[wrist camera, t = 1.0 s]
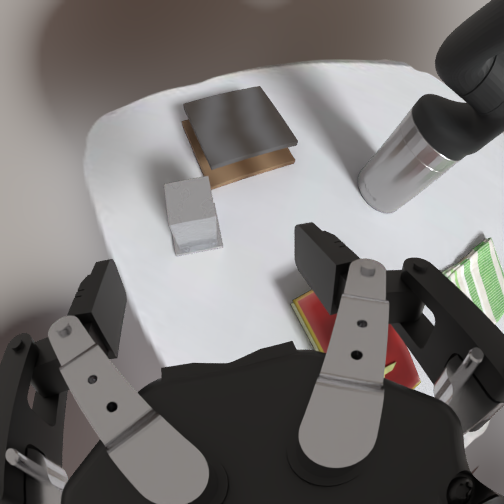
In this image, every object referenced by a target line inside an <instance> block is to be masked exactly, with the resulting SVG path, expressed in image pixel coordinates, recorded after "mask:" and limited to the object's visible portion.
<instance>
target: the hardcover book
mask: <svg viewBox="0 0 504 504" xmlns="http://www.w3.org/2000/svg"><path fill="white" fill-rule="evenodd" d="M292 301H293V303H291V306H292V308H293V310H294V312H295V313H296V315H297V317H298V319H299V321H300V323H301V325H302V327H303V329H304V330H305V332H306V334H307V336H308V338H309V340H310V342H311V344H312V346H313V347H314V349H315V351H319V352H324V353H327V349H328V346H329V342H330V339H331V335H332V332H333V328H334V324H335V321H336V317H337V314H334V315H329V313H328V312H327V310H326V309H325V307H324V306H323V304H322V303H321V301H320V300H319V299H318V297H317V296H316V294H315V293H314V291H313V290H310V291H308V292H307V293H305V294H303V295H301V296H299V297H298V298H296V299H294V300H292ZM384 378H386V379H388V380H391V381H393V382H396V383H398V384H401V385H403V386H406V387H408V388H411V389H414V388H415V387H416V386H418V385H419V384H420V383H421V381H420V378H419V375H418V373H417V370H416V368H415V365H414V363H413V360H412V358H411V355H410V353H409V351H408V348H407V346H406V344H405V343H404V342H403V340H402V339H401V337H400V336H399V335H398V333H397V332H396V331H395V329H394V328H393V327H392V325H391V324H388V338H387V351H386V361H385V371H384Z"/></svg>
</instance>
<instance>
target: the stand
mask: <svg viewBox="0 0 504 504" xmlns="http://www.w3.org/2000/svg"><path fill="white" fill-rule="evenodd" d="M183 105H184V110H185V112H186V114H187V117H188V120H185V121H182V125H183V128H184V130H185V133H186V135H187V137H188V140H189V142H190V144H191V147H192V149H193V152H194V154H195V156H196V159H197V161H198V163H199V166H200V168H201V170H202V173H203V175H204V176H208V177H209V182H210V188H211V190H212V189H215V188H218V187H221V186H224V185H227V184H230V183H233V182H236V181H239V180H242V179H245V178H248V177H251V176H254V175H257V174H261V173H264V172H267V171H270V170H274V169H277V168H280V167H284V166H287V165H290V164H294V162H295V159H294V157H293V156H292V154H291V152H290V151H289V149H288V147H292V146H296V145H297V143H298V140H297V139H296V137H295V136H294V134H293V133H292V131H291V130H290V128H289V127H288V125H287V124H286V122H285V121H284V119H283V118H282V116H281V115H280V113H279V112H278V111H277V109H276V108H275V106H274V105H273V103H272V102H271V101H270V99H269V98H268V96H267V95H266V94H265V92H264V91H263V90H262V88H261V87H260V86H257V87H252V88H247V89H242V90H237V91H232V92H228V93H223V94H219V95H215V96H211V97H207V98H203V99H199V100H196V101H192V102H189V103H185V104H183Z"/></svg>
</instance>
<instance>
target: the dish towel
mask: <svg viewBox="0 0 504 504" xmlns="http://www.w3.org/2000/svg"><path fill="white" fill-rule="evenodd" d="M442 273H443V274H444V275H445V276H446V277H447V278H448V279H449V280H450V281H451V282H453V283H454V284H455V285H456V286H457V287H458V288H459V289H460V290H461V291H462V292H463V293H464V294H465V295H466V296H467V297H468V298H469V299H470V300H471V301H472V302H473V303H474V304H476V305H477V306H478V308H479V309H480V310H481V311H482V312H483V313H484V314H485V315H486V316H487V317H488V318H489V319H490V320H491V321H492V322H493V323H494V324H496V323H497V322H498V321H499V319H500V318H501V316H502V315H503V314H504V272H503V269H502V266H501V263H500V260H499V258H498V255H497V252H496V249H495V246H494V244H493V240H492V238H491V237H490V238H488V239H485V240H484V241H483V242H482V243H480V244H479V245H478V246H476V247H475V248H474V249H473V250H472V251H471V252H470V253H469V254H468V255H467V256H465V257H464V258H463V259H462V260H461V261H460V262H459V263H457V264H456V265H453V266H452V267H450V268H448V269H447V270H445V271H444V272H442Z"/></svg>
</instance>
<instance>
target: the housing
mask: <svg viewBox="0 0 504 504" xmlns="http://www.w3.org/2000/svg"><path fill="white" fill-rule="evenodd" d="M164 189H165V199H166V207H167V216H168V224H169V227H170V229H171V231H172V234H173V240H174V247H175V254H176V256H182V255H187V254H193V253H198V252H203V251H208V250H213V249H218V248H223V243H222V238H221V233H220V228H219V223H218V218H217V213H216V208H215V203H213V198H212V193H211V188H210V182H209V177H208V176H204V177H199V178H193V179H188V180H182V181H177V182H172V183H167V184H164Z"/></svg>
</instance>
